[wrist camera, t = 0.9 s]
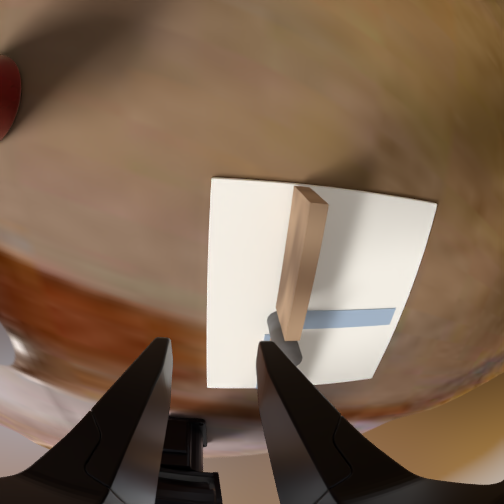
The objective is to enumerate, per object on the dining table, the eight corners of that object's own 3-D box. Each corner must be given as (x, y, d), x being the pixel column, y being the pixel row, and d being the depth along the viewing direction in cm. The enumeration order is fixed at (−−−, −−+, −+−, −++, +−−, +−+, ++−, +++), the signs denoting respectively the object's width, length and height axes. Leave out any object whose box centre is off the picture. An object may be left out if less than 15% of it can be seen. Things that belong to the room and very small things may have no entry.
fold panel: (288, 307, 22) (299, 340, 19) (275, 307, 22) (284, 340, 18) (309, 187, 18) (329, 204, 15) (293, 185, 18) (310, 202, 15)
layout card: (370, 375, 28) (371, 379, 28) (207, 384, 26) (207, 388, 26) (434, 202, 20) (438, 204, 20) (211, 177, 18) (211, 178, 18)
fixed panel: (273, 384, 27) (281, 424, 23) (255, 384, 27) (261, 425, 22) (290, 307, 23) (304, 350, 19) (267, 307, 23) (277, 351, 18)
